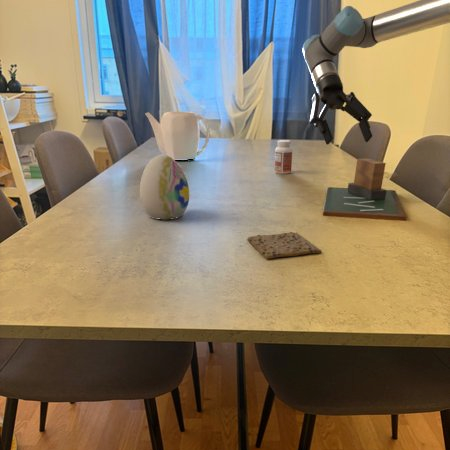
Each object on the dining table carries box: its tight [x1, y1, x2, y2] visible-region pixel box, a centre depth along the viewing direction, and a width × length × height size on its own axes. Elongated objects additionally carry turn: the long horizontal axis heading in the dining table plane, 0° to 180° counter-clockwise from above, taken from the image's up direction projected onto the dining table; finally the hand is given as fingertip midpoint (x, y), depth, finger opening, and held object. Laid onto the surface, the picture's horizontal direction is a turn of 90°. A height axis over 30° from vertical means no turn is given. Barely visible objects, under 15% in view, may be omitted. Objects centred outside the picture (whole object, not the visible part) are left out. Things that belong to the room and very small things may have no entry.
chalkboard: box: [322, 186, 407, 221], centre depth 120 cm, size 20×28×1 cm
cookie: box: [246, 231, 323, 260], centre depth 90 cm, size 12×12×1 cm
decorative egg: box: [139, 154, 190, 220], centre depth 107 cm, size 12×12×15 cm
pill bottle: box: [273, 139, 293, 175], centre depth 157 cm, size 6×6×11 cm
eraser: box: [347, 158, 388, 200], centre depth 122 cm, size 11×5×10 cm, turn 20°
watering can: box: [144, 110, 211, 160], centre depth 181 cm, size 16×27×19 cm, turn 88°
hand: (349, 140), depth 127 cm, fingers open, 13 cm apart
